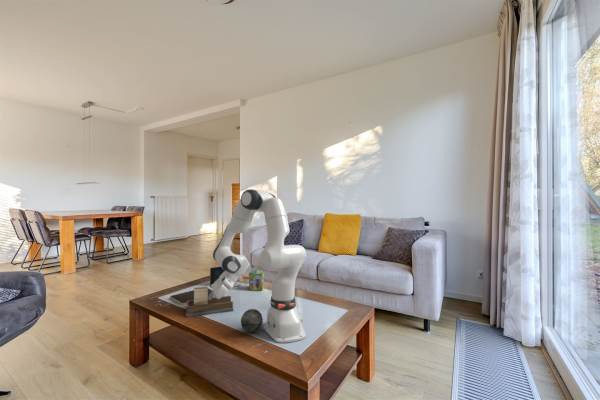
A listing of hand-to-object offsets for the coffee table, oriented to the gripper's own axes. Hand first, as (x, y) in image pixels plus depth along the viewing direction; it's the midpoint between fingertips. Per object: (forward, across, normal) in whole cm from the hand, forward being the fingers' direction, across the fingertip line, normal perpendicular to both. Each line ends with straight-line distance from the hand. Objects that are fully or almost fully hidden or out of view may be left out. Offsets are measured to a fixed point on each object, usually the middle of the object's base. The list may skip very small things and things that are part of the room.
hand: (208, 298), depth 151 cm
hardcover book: (+10, -22, -1) cm, 24 cm away
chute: (+3, 0, +4) cm, 5 cm away
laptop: (-5, -39, +14) cm, 42 cm away
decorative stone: (-8, +34, +16) cm, 39 cm away
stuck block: (+6, 0, 0) cm, 6 cm away
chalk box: (-19, -26, +27) cm, 42 cm away
